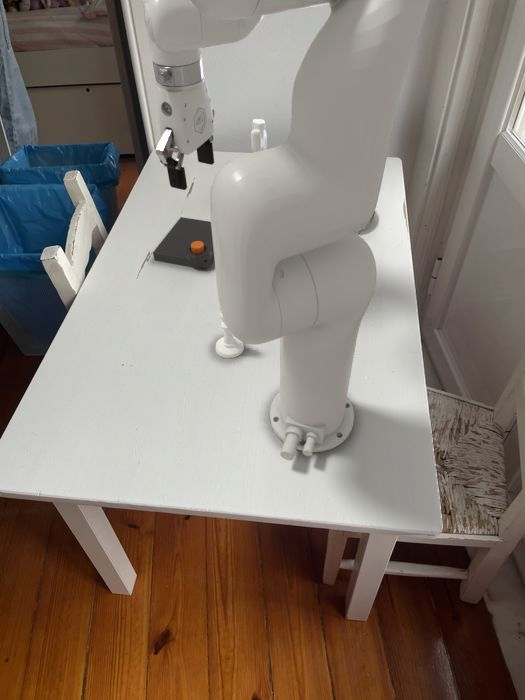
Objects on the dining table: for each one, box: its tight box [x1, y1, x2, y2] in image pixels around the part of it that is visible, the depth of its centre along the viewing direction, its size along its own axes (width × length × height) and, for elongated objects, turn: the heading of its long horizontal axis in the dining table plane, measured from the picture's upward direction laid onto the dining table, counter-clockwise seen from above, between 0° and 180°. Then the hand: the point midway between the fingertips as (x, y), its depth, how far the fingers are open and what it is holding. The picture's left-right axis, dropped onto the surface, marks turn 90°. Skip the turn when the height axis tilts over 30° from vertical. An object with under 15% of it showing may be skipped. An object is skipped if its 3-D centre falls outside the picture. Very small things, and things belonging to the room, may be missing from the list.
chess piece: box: [215, 307, 245, 359], centre depth 80 cm, size 5×5×10 cm
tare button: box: [191, 241, 204, 254], centre depth 98 cm, size 3×3×1 cm
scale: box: [152, 216, 215, 271], centre depth 103 cm, size 15×12×4 cm
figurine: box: [250, 118, 268, 153], centre depth 118 cm, size 7×9×15 cm
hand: (193, 174), depth 88 cm, fingers open, 9 cm apart
